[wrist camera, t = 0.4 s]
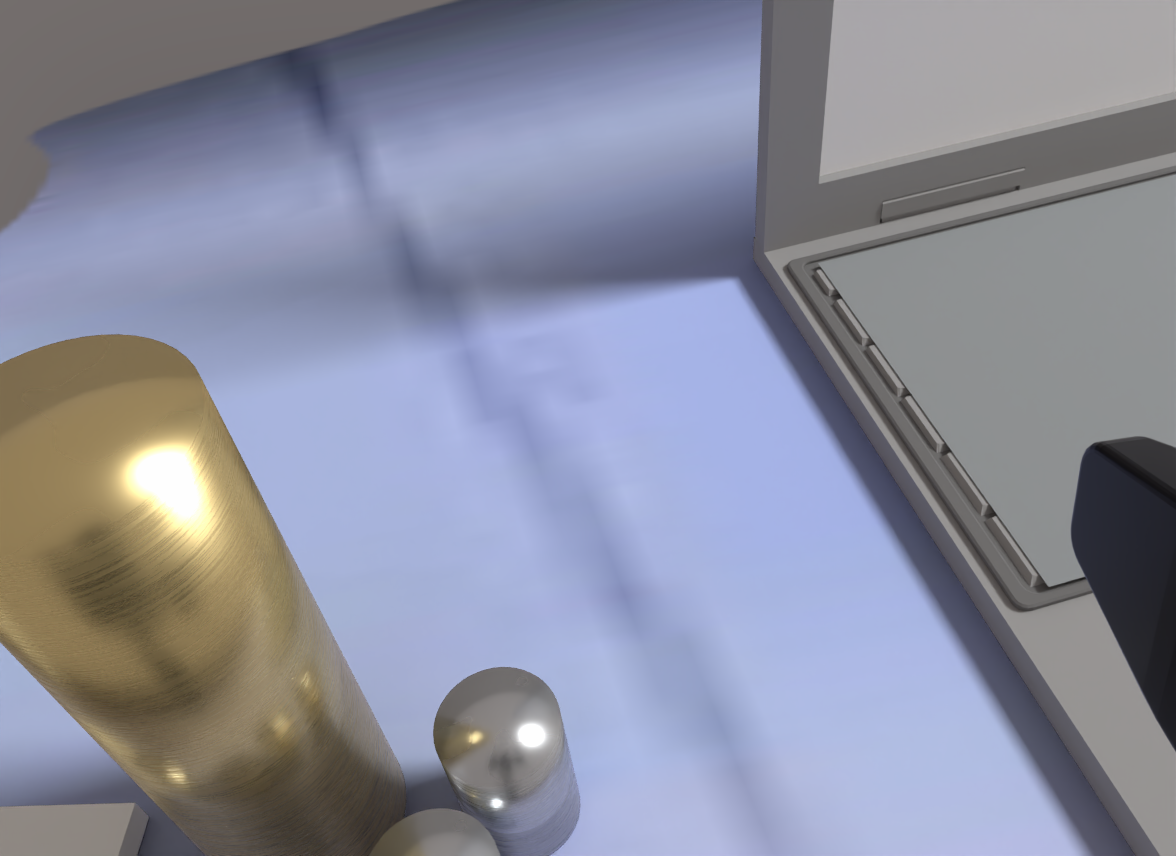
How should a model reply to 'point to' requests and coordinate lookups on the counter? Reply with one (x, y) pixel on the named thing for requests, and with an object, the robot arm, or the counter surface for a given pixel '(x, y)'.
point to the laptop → (992, 300)
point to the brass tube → (178, 607)
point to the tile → (72, 830)
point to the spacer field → (496, 773)
